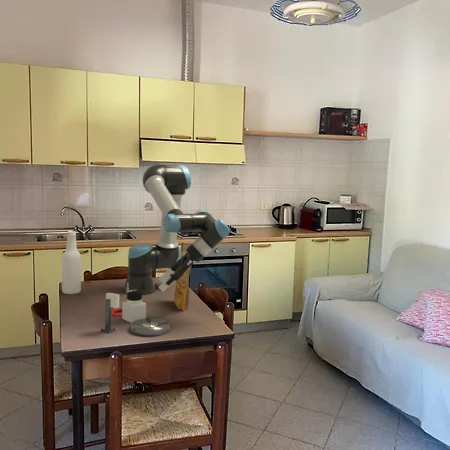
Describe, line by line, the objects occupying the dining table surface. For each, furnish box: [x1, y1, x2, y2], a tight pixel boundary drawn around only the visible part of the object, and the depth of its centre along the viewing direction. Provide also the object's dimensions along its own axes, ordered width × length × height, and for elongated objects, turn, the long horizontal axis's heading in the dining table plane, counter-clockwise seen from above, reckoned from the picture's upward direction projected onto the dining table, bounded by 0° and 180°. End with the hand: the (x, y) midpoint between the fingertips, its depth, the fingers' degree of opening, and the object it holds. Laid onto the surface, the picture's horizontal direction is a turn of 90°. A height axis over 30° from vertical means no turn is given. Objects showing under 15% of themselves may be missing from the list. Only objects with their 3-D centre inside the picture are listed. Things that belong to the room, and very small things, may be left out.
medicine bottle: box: [121, 290, 147, 324], centre depth 192 cm, size 7×7×12 cm
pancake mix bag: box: [173, 242, 194, 311], centre depth 213 cm, size 7×19×28 cm, turn 17°
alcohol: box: [61, 230, 82, 295], centre depth 227 cm, size 9×9×30 cm
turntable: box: [129, 317, 171, 337], centre depth 182 cm, size 15×15×2 cm
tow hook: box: [111, 283, 129, 318], centre depth 199 cm, size 8×13×9 cm
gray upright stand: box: [100, 292, 120, 334], centre depth 177 cm, size 4×6×14 cm, turn 67°
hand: (160, 285), depth 192 cm, fingers open, 13 cm apart
